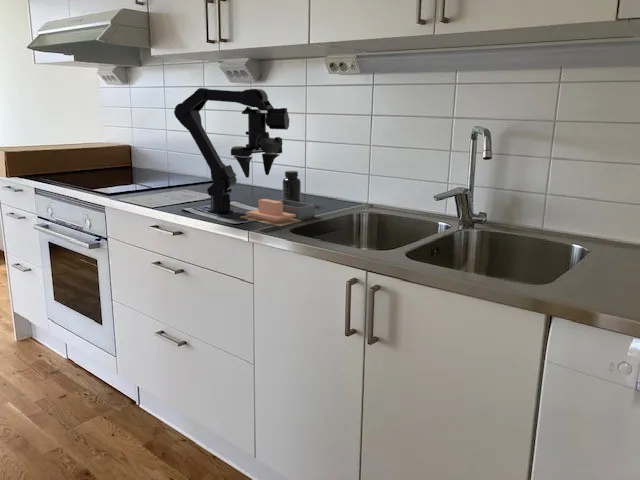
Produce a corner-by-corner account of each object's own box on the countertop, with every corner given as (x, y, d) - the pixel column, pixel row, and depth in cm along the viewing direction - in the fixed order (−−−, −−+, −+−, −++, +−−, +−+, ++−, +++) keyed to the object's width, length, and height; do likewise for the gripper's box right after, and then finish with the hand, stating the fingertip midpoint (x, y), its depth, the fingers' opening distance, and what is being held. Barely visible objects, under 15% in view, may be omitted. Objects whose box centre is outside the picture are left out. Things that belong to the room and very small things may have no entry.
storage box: (268, 213, 189) (268, 202, 188) (283, 210, 195) (283, 199, 194) (298, 220, 181) (299, 208, 180) (314, 216, 187) (314, 204, 186)
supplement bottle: (290, 200, 214) (291, 169, 212) (304, 203, 210) (304, 171, 207) (278, 203, 209) (278, 171, 206) (292, 205, 205) (292, 173, 202)
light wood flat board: (240, 217, 182) (240, 216, 182) (261, 213, 190) (261, 212, 189) (280, 226, 171) (280, 225, 171) (301, 221, 179) (301, 220, 179)
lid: (245, 217, 181) (245, 199, 180) (263, 213, 188) (263, 196, 186) (277, 223, 173) (277, 205, 171) (295, 219, 179) (295, 202, 178)
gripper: (253, 130, 169) (254, 181, 173) (294, 129, 183) (294, 176, 187) (229, 129, 176) (230, 178, 180) (270, 127, 190) (270, 172, 194)
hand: (257, 176), depth 185 cm, fingers open, 9 cm apart
